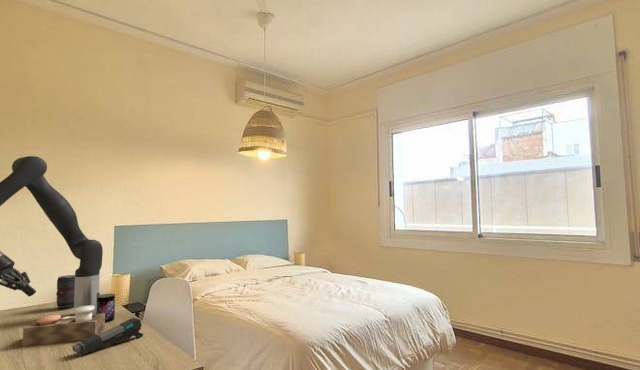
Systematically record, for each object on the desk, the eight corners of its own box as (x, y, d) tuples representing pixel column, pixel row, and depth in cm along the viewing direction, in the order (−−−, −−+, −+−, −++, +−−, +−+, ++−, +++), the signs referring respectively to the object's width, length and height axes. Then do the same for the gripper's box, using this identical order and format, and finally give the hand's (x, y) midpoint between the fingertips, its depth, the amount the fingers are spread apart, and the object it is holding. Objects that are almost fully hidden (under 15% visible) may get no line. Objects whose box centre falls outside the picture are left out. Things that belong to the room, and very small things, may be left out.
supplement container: (91, 323, 140) (92, 297, 141) (103, 317, 147) (104, 293, 148) (107, 323, 139) (107, 297, 140) (118, 318, 146) (119, 293, 147)
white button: (96, 323, 131) (97, 304, 131) (90, 329, 124) (90, 309, 125) (77, 325, 129) (77, 306, 129) (69, 331, 123) (69, 311, 123)
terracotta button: (63, 332, 128) (64, 313, 128) (54, 339, 121) (55, 319, 122) (42, 334, 126) (43, 315, 126) (32, 341, 120) (33, 321, 120)
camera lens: (69, 310, 160) (70, 277, 161) (51, 310, 160) (52, 278, 160) (81, 305, 168) (81, 274, 169) (64, 305, 168) (65, 274, 169)
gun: (146, 336, 124) (137, 312, 121) (87, 376, 108) (75, 349, 106) (141, 333, 126) (132, 310, 124) (82, 372, 111) (70, 346, 109)
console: (104, 329, 133) (105, 312, 133) (95, 338, 123) (95, 320, 123) (38, 335, 127) (38, 318, 127) (22, 346, 117) (23, 326, 118)
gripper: (-10, 256, 115) (32, 290, 118) (13, 251, 128) (51, 282, 130) (-30, 273, 113) (13, 307, 116) (-4, 267, 126) (34, 297, 129)
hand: (33, 294), depth 123 cm, fingers closed
